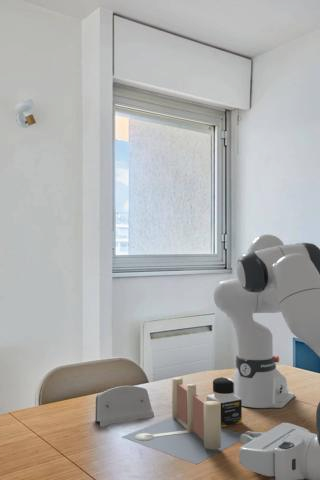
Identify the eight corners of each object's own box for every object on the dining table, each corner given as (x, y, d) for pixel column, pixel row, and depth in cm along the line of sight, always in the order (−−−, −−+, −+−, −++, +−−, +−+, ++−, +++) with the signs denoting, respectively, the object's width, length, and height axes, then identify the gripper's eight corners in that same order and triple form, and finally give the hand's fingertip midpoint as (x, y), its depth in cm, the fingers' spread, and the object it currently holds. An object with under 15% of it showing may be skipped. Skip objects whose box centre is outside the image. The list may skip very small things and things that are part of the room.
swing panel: (188, 431, 123) (187, 392, 123) (202, 429, 124) (202, 390, 124) (208, 450, 111) (207, 406, 111) (223, 448, 112) (223, 405, 112)
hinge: (99, 426, 130) (96, 388, 133) (94, 427, 134) (91, 390, 137) (155, 417, 137) (150, 381, 140) (149, 418, 141) (144, 383, 144)
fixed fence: (170, 416, 137) (170, 374, 137) (180, 415, 138) (180, 373, 138) (188, 433, 124) (187, 386, 124) (198, 431, 125) (198, 385, 125)
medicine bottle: (220, 428, 128) (220, 383, 129) (206, 420, 135) (206, 377, 135) (242, 424, 131) (241, 380, 132) (227, 416, 138) (226, 374, 138)
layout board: (176, 416, 138) (176, 414, 138) (248, 437, 122) (248, 435, 122) (121, 438, 122) (121, 436, 122) (196, 466, 106) (196, 463, 106)
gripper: (321, 424, 106) (266, 410, 116) (278, 453, 91) (218, 435, 100) (322, 452, 106) (266, 436, 116) (278, 486, 91) (218, 465, 100)
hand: (243, 436), depth 108 cm, fingers closed
